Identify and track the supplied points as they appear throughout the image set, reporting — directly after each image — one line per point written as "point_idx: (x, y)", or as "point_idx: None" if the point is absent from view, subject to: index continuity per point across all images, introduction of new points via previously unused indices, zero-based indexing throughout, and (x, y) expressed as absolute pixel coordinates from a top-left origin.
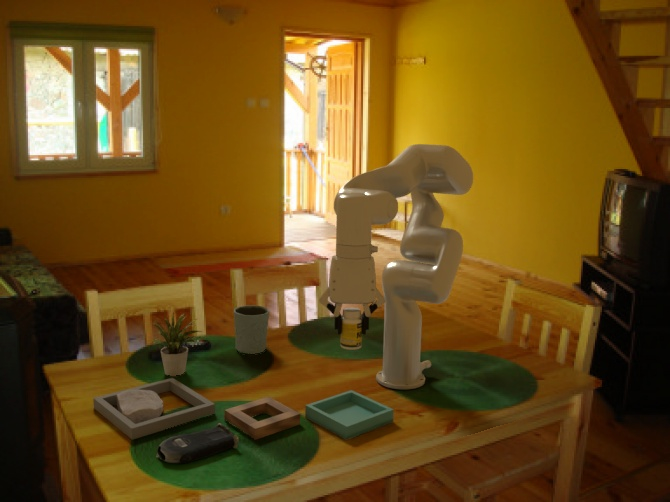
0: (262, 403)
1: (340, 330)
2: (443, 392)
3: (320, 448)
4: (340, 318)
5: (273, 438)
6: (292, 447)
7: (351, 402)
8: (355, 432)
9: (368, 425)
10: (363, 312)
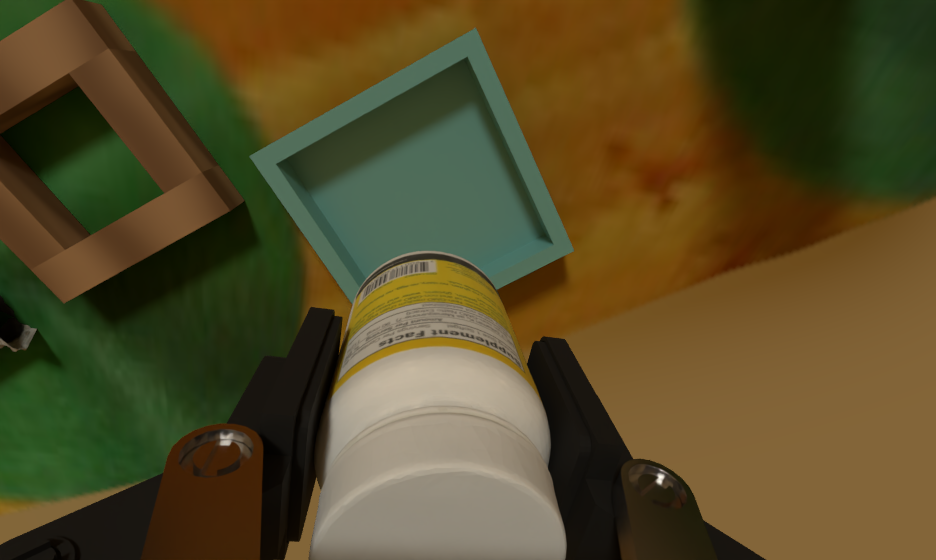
0: (52, 79)
1: None
2: (859, 15)
3: None
4: (285, 546)
5: (153, 284)
6: (218, 344)
7: (462, 73)
8: None
9: None
10: (587, 534)
